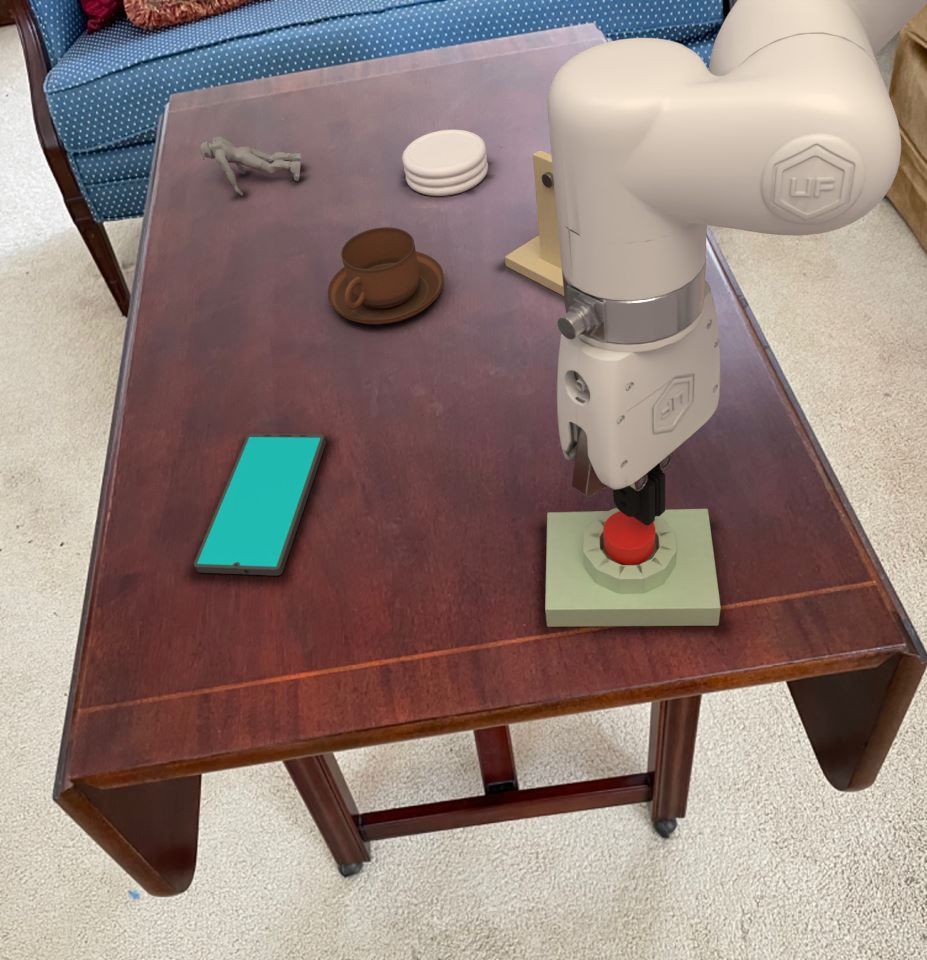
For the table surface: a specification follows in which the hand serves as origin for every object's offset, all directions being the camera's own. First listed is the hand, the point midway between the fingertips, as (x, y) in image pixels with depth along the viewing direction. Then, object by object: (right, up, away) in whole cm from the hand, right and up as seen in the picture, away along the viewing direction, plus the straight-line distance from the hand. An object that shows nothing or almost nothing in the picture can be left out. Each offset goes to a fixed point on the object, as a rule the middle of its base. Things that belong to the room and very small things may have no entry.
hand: (639, 508), depth 64 cm
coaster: (-14, +38, +49) cm, 64 cm away
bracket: (-1, +24, +33) cm, 41 cm away
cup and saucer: (-20, +21, +33) cm, 44 cm away
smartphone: (-29, 0, +15) cm, 33 cm away
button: (0, -3, +3) cm, 4 cm away
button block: (0, -5, +6) cm, 8 cm away
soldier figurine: (-37, +39, +54) cm, 76 cm away
